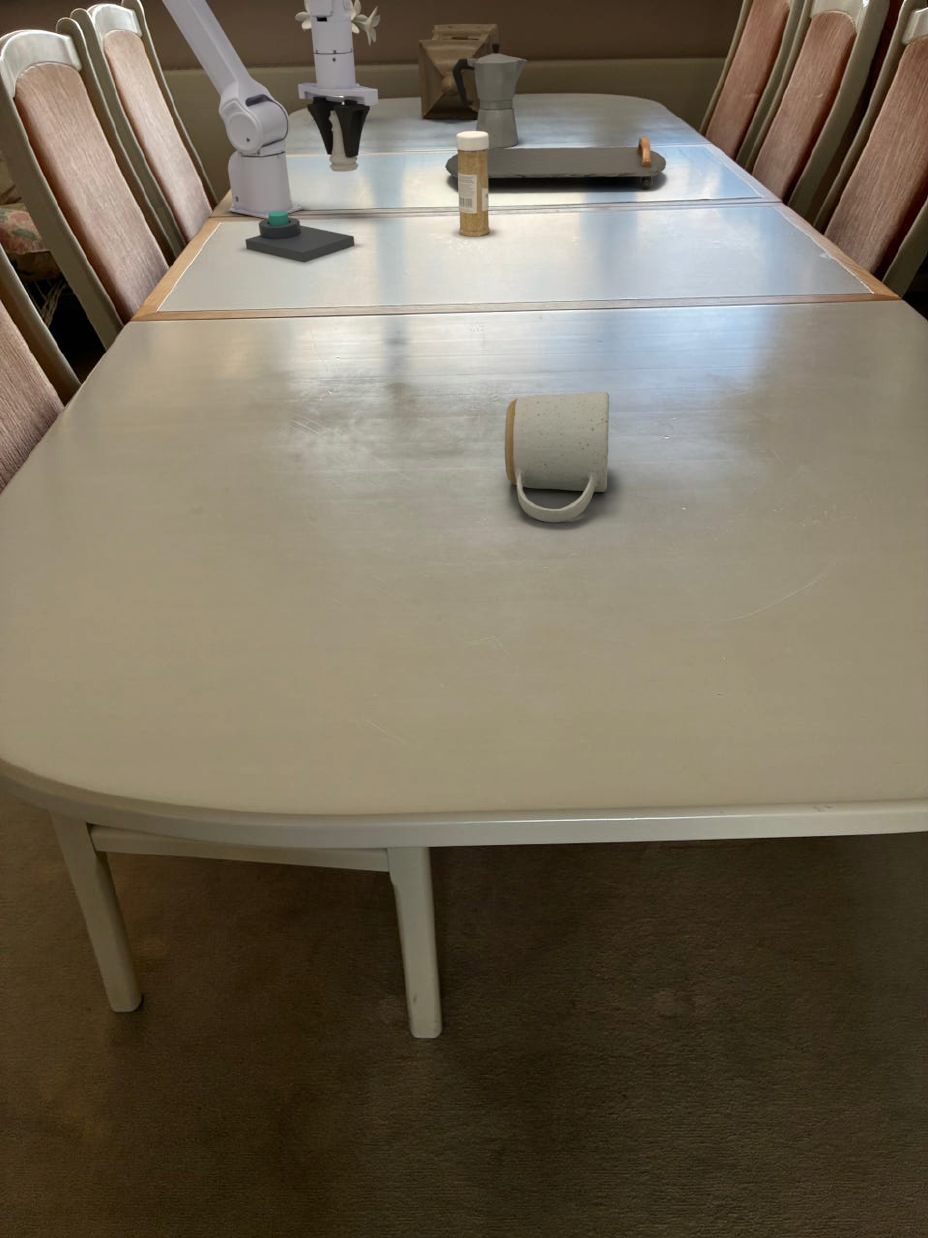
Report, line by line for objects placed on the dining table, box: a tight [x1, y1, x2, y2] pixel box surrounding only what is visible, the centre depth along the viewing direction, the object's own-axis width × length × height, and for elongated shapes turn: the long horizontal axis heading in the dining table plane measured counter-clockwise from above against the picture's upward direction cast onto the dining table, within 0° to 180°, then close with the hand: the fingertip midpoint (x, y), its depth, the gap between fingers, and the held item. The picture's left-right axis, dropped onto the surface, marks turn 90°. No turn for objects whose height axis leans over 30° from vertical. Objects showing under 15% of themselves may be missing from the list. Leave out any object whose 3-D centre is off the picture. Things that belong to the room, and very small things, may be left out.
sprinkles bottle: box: [455, 130, 490, 237], centre depth 138 cm, size 5×5×13 cm
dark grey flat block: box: [245, 216, 356, 263], centre depth 137 cm, size 13×10×3 cm
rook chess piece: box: [328, 110, 359, 173], centre depth 145 cm, size 4×4×8 cm
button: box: [268, 211, 289, 225], centre depth 138 cm, size 3×3×2 cm
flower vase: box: [294, 0, 381, 104], centre depth 213 cm, size 13×18×25 cm
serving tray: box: [444, 136, 667, 190], centre depth 169 cm, size 39×23×6 cm, turn 86°
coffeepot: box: [452, 42, 529, 149], centre depth 192 cm, size 15×9×18 cm, turn 103°
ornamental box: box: [417, 23, 499, 119], centre depth 225 cm, size 35×18×18 cm, turn 173°
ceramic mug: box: [504, 391, 610, 523], centre depth 75 cm, size 11×8×8 cm
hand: (342, 154), depth 146 cm, fingers closed on rook chess piece, 3 cm apart
